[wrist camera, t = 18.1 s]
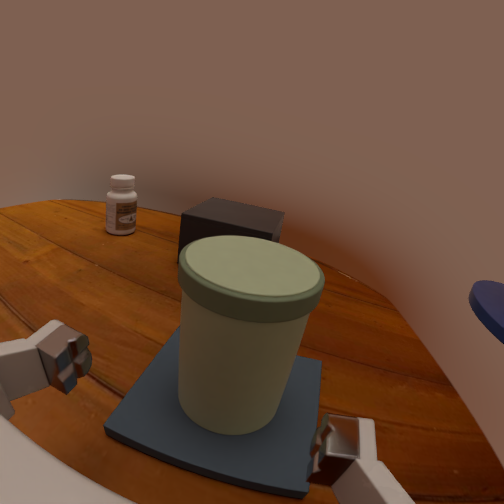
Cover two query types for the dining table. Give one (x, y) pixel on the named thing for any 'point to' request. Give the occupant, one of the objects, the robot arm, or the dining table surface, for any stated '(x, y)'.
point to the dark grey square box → (228, 222)
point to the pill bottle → (121, 205)
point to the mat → (220, 445)
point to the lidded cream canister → (240, 328)
